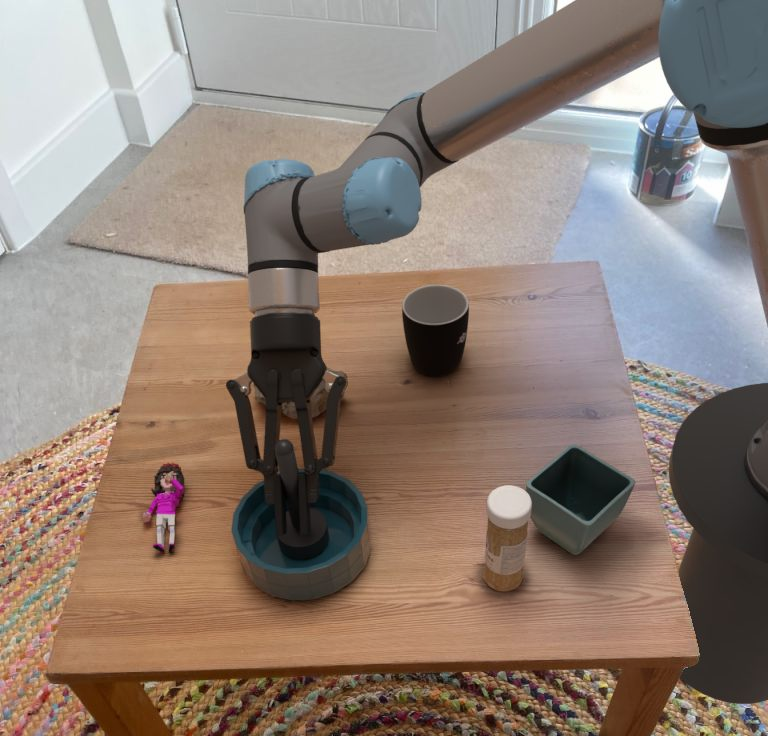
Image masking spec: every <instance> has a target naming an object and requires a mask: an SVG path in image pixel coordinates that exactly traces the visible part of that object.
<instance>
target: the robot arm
mask: <svg viewBox="0 0 768 736" xmlns="http://www.w3.org/2000/svg"><path fill="white" fill-rule="evenodd" d="M657 59H659V62H660V66H661V70H662V73H663V76H664V78H665V80H666V83H667V85H668V87H669V89H670V91H671V92H672V93H673V95H674V96H675V98H676V99H677V101H678V102H679V103H680V104H681V105H682V106H683V107H684V108H685V109H686V110H688V111H689V112H693V116H694V120H695V124H696V127H697V131H698V132H697V133H698V135H699V138H700V141H701V143H702V144H703V145H704V146H706V147H708V148H710V149H712V150H715V151H718V152H721V153H722V154H723V153H724V154H725V155H726V157H727V162H728V165H729V169H730V173H731V178H732V183H733V187H734V191H735V195H736V199H737V203H738V208H739V212H740V217H741V220H742V225H743V230H744V233H745V237H746V241H747V242H746V243H747V246H748V251H749V255H750V258H751V263H752V268H753V272H754V276H755V279H756V284H757V288H758V293H759V298H760V301H761V305H762V310H763V314H764V318H765V322H766V326H767V328H768V0H573V1H571V2H570V3H568V4H567V5H565V6H564V7H562V8H560V9H558V10H556V11H555V12H553V13H552V14H550V15H548V16H547V17H545V18H544V19H542V20H541V21H539V22H537V23H536V24H534V25H532V26H531V27H529V28H526V30H524V31H522V32H521V33H519V34H517V35H516V36H514V37H512V38H511V39H509V40H507V41H506V42H504V43H503V44H501V45H500V46H497V47H496V48H495V49H493V50H491V51H489V52H487V53H486V54H485V55H483V56H481V57H479V58H478V59H477V60H475V61H473V62H471V63H470V64H468V65H467V66H465V67H463V68H461V69H459V70H458V71H457V72H455V73H454V74H451V75H450V76H448V77H447V78H445V79H444V80H442V81H440V82H439V83H437V84H436V85H434V86H432V87H431V88H429V89H427V90H426V91H425V92H412V93H410V94H408V95H406V96H404V97H403V98H402V99H401V100H399V101H398V102H397V103H395V104H394V105H393V106H392V107H390V108H389V109H388V110H387V111H386V114H385V115H384V116H383V118H382V119H381V121H380V122H379V123H378V124H377V125H376V126H375V127H374V128H373V130H371V132H370V133H369V134H368V135H367V136H366V137H365V138H364V140H363V141H362V142H360V144H359V145H358V146H357V147H356V148H355V150H353V152H352V153H351V154H350V155H349V156H348V157H347V159H346V160H345V161H344V162H343V163H342V164H341V165H340V166H339V167H337V168H335V169H333V170H330V171H326V172H324V173H320V174H317V175H315V172H314V170H313V169H312V167H311V166H310V165H309V164H307V163H305V162H303V161H298V160H296V159H288V158H279V159H274V160H271V159H266V160H262V161H259V162H256V163H254V164H253V165H251V166H250V167H249V168H248V169H247V171H246V173H245V176H244V202H243V206H242V207H243V214H244V223H245V224H244V226H245V234H246V235H245V236H246V237H245V238H246V254H247V289H248V290H247V291H248V311H249V312H250V313H251V314H253V315H254V317H251V320H249V335H250V356H251V357H250V361H249V364H248V365H247V369H246V372H245V373H243V374H242V375H240V376H238V377H237V378H235V379H229V380H227V381H226V383H225V387H226V389H227V391H228V393H229V395H230V397H231V399H232V400H233V401H234V406H235V412H236V418H237V422H238V429H239V434H240V441H241V444H242V450H243V455H244V462H245V466H246V468H247V469H249V470H254V471H255V472H258V473H260V474H261V475H262V477H263V480H264V490H265V501H266V503H267V504H275V529H276V535H284V534H285V533H287V522H286V497H285V493H284V489H283V484H282V480H281V476H280V474H278V475H277V473H279V472H280V471H279V467H278V463H277V459H276V454H275V449H274V448H275V444H276V443H277V442H278V441H279V440H281V421H282V404H283V403H286V402H289V401H290V402H295V408H296V412H297V418H298V419H297V424H298V432H299V438H300V444H301V445H300V447H301V453H302V454H301V455H302V461H303V468H305V469H304V472H305V474H299V475H298V486H299V512H300V535H308V534H309V533H310V532H311V522H310V503H317V502H318V499H319V480H318V475H319V472H320V471H321V470H326V469H327V468H330V467H332V466H334V464H335V462H336V461H335V460H336V452H337V451H336V450H337V441H338V432H339V422H340V413H341V405H342V399H343V398H342V396H343V394H344V395H345V393H346V390H347V388H348V385H349V380H348V378H347V379H346V378H344V377H343V376H337V375H335V374H333V373H331V372H329V371H327V368H326V366H327V365H326V363H325V361H324V359H323V356H322V337H321V320H320V319H319V318H318V316H316V314H318V312H319V311H320V310H321V307H320V304H321V303H320V285H319V283H320V282H319V254H322V253H329V252H332V251H338V250H339V251H340V250H346V249H352V248H357V247H363V246H370V245H371V246H374V245H381V244H386V243H388V242H390V241H392V240H396V239H399V238H403V237H405V236H408V235H409V234H411V233H412V232H413V231H414V229H415V228H416V227H417V226H418V223H419V222H420V216H419V215H420V214H419V213H420V212H421V210H422V206H423V205H422V203H423V201H422V192H421V187H422V186H423V185H424V183H425V182H426V181H427V180H428V179H429V178H431V176H433V175H434V174H437V173H438V172H440V171H442V170H444V169H446V168H448V167H450V166H452V165H454V164H456V163H458V162H459V161H461V160H463V159H464V158H467V157H468V156H470V155H472V154H474V153H476V152H478V151H480V150H482V149H484V148H486V147H488V146H490V145H492V144H493V143H496V142H498V141H499V140H501V139H503V138H505V137H507V136H509V135H511V134H513V133H515V132H517V131H519V130H521V129H523V128H524V127H527V126H528V125H531V124H532V123H534V122H537V121H538V120H541V119H542V118H545V117H546V116H548V115H550V114H552V113H554V112H555V111H558V110H560V109H562V108H564V107H566V106H567V105H569V104H571V103H573V102H575V101H577V100H579V99H582V98H583V97H585V96H587V95H589V94H591V93H592V92H595V91H597V90H598V89H600V88H602V87H606V86H607V85H608V84H611V83H613V82H615V81H616V80H619V79H620V78H622V77H624V76H627V75H628V74H630V73H631V72H634V71H636V70H637V69H640V68H642V67H644V66H645V65H647V64H649V63H651V62H653V61H656V60H657ZM323 379H324V380H325V390H326V391H327V392H328V393H329V394H328V398H327V406H326V409H325V416H324V417H325V419H324V428H323V437H322V444H321V446H322V447H321V456H320V458H318V453H317V446H316V445H317V444H316V439H315V438H316V437H315V430H314V424H313V418H312V415H311V403H310V398H311V396H312V395H313V393H314V392H315V390H316V389H317V387H318V386H319V384H320V383H321V381H322V380H323ZM253 383H254V384H255V386H256V387H257V388H258V389H259V391H260V392H261V393H262V395H263V396H264V397H265V398H266V404H265V405H264V407H265V408H264V409H265V423H264V439H263V440H264V441H263V459H262V458H261V453H260V448H259V441H258V436H257V431H256V425H255V420H254V414H253V413H254V412H253V408H252V403H251V400H250V397H249V396H250V395H251V394H252V388H251V385H252V384H253ZM344 392H345V393H344ZM341 398H342V399H341ZM744 467H745V471H746V474H747V477H748V479H749V481H750V482H751V484H752V485H753V487H754V488H755V489H756V490H757V491H758V492H759V493H760V494H761V495H762V496H763V497H764V498H765V499H767V500H768V421H767V422H766V423H765V424H764V425H763V426H762V427H761V428H760V429H759V430H758V431H757V432H756V433H755V434H754V436H753V437H752V439H751V441H750V443H749V445H748V448H747V451H746V453H745V457H744Z"/></svg>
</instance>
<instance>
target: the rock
mask: <svg viewBox="0 0 768 736" xmlns="http://www.w3.org/2000/svg"><path fill="white" fill-rule="evenodd" d="M326 368H327V371H329V372H331V373H333V374H335V375H337V376H343V377H344V378H346V379H347V380H348V375H347V373H345V372H344V371H342V370H335V369H331V368H330V367H328V366H327V365H326ZM252 385H253V388H254V400H255V402H257V403H258V404H259V403H260V404H263V405H264V406H265V404H266V398H265V397H264V396H263V395H262V393H261V392H260V391H259V389H258V388H257V387H256V386H255V384H254V383H253V382H252ZM345 393H346V391H345V392H344V394H343V396H342V398H341V400H342V399H344V398H345ZM328 394H329V393H328V392H327V391H326V390H325V380H324V379H323V380H322V381H321V383H320V384H319V386H318V387H317V389H316V390H315V392H314V393H313V395H312V396H311V398H310V403H311V415H312V419H313V418H316V417H318V416H319V415H320V414H321V413H323V412H325V411H326V406H327V398H328ZM282 413H283V416H287V417H288V418H289V419H294V420H298V418H297V412H296V408H295V402H290V401H289V402H286V403H283V404H282V412H281V414H282Z"/></svg>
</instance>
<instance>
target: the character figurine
mask: <svg viewBox="0 0 768 736" xmlns="http://www.w3.org/2000/svg"><path fill="white" fill-rule="evenodd" d="M179 465H180V464H179V463H174V462H167V463H162V465H161V466H159V469H158V470H157V472H156V474H155V475H154V476H153V478H154V483H153V484H154V488H151V490H150V491H151V493H152V494H153V495H154V496H155V497H154V498H153V500H152V502H151V504H150V505H149V507H148V510H147V511H145V512H143V514H142V516H141V519H142V522H143V523H147V522H150V521H151V519H152V515H153V513H154V511H155V523H156V525H155V526H156V541H157V542H156V543H153V544H152V548H153V549H155V551H157V552H159V554H160V553H164V552H165V550H166V549H165V548H166V547H165V541H166V539H165V530H166V529H167V530H168V532H169V541H168V553H174V550H175V539H176V538H175V537H176V530H175V529H176V528H175V527H176V525H175V523H176V522H175V521H176V508H178V507H179V505H180V504H179V503H180V501H181V500H182V498H183V497H185V494H184V490H185V476H184V474H183V472H182V467H181V466H179ZM155 509H156V510H155Z"/></svg>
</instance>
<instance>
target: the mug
mask: <svg viewBox="0 0 768 736" xmlns="http://www.w3.org/2000/svg"><path fill="white" fill-rule="evenodd" d="M401 303H402V304H401V315H402V316H401V317H402V325H403V333H404V339H405V344H406V347H407V352H408V355H409V358H410V361H411V363H412V365H413V367H414V368H415V369H416V370H417V372H419V373H420V374H422V375H424V376H426V377H434V378H439V377H444V376H445V377H446V376H447V375H450V374H451V373H453V372H454V371H455V370H457V368H458V367H459V365H460V364H461V361H462V359H463V356H464V352H465V347H466V342H467V335H468V329H469V318H470V317H469V316H470V315H469V314H470V303H469V299H468V297H467V295H466V294H465V293H464V292H463V291H462V290H460V289H458V288H457V287H454V286H451V285H446V284H426V285H423V286H419V287H417V288H415V289H413V290H411V291H410V292H408V294H407V295H405V297H404V299H403V301H402V302H401Z"/></svg>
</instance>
